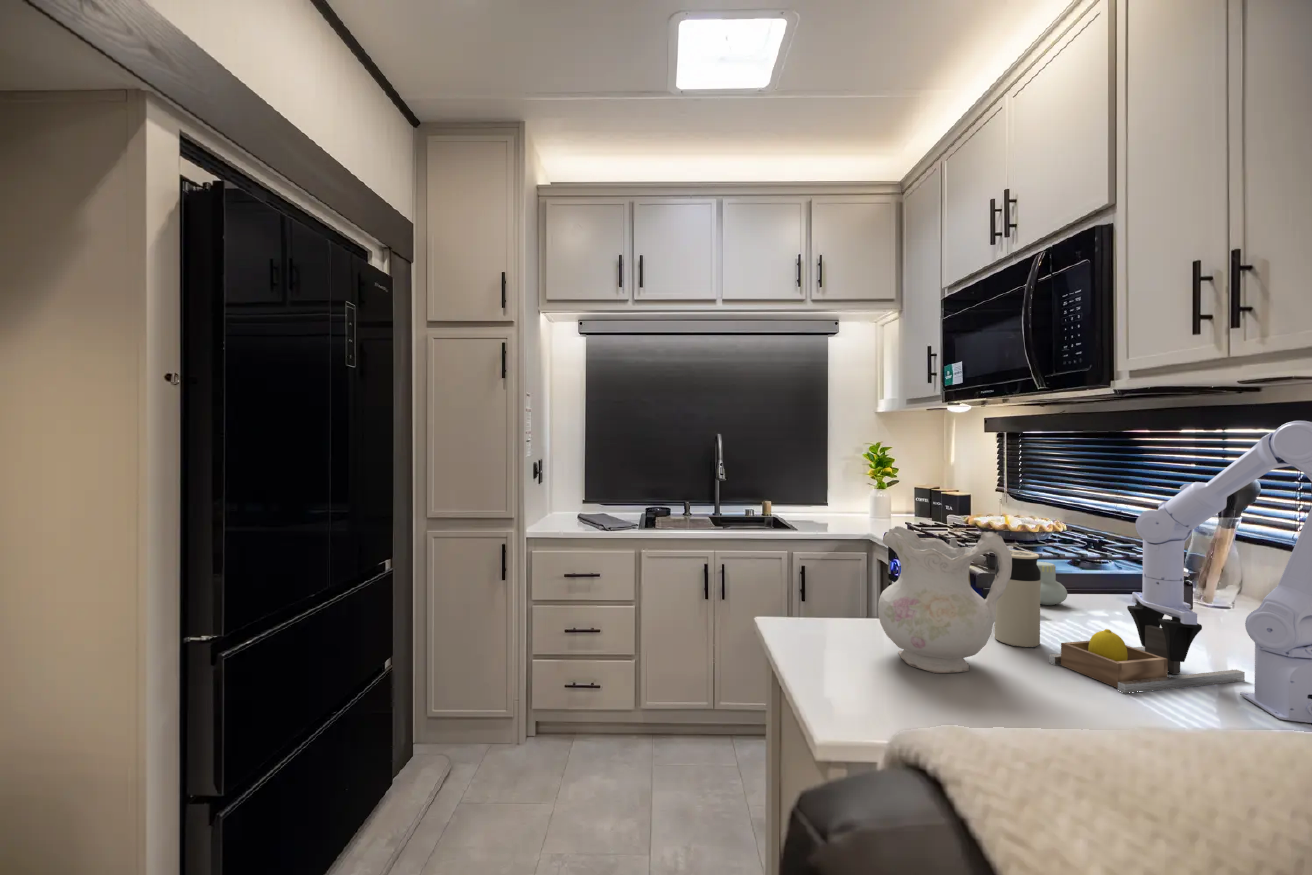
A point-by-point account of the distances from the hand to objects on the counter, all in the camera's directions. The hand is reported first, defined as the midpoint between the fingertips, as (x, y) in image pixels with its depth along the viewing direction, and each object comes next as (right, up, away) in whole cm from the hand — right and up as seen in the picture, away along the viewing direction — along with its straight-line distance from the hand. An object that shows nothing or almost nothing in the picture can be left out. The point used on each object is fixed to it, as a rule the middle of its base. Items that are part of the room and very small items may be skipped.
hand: (1162, 653), depth 110 cm
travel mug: (-17, -3, +15) cm, 23 cm away
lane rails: (-5, -3, -1) cm, 6 cm away
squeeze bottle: (-21, -3, +34) cm, 40 cm away
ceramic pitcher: (-39, -3, +2) cm, 39 cm away
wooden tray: (-8, -3, -2) cm, 8 cm away
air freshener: (+7, -4, +46) cm, 47 cm away
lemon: (-12, -3, -3) cm, 13 cm away
